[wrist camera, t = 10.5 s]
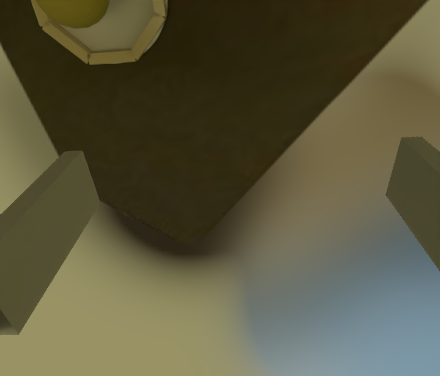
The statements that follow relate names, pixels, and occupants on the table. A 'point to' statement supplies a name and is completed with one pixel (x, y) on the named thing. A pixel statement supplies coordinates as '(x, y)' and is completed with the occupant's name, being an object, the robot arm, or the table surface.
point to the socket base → (111, 31)
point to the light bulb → (75, 11)
